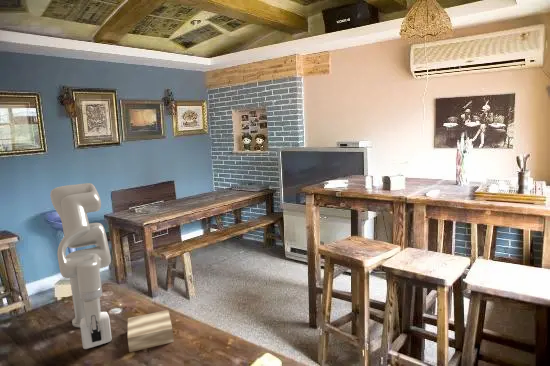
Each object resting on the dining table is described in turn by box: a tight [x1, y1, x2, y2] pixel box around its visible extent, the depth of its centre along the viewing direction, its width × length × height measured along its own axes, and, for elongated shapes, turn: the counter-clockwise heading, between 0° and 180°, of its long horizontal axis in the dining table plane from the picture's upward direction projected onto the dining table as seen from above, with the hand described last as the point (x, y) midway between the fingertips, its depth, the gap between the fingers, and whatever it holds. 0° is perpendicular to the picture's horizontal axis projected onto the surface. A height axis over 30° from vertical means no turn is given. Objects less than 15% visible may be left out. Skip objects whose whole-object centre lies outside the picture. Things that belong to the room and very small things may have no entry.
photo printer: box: [79, 311, 112, 350], centre depth 146 cm, size 10×4×12 cm, turn 123°
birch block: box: [127, 309, 175, 353], centre depth 151 cm, size 16×16×6 cm
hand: (96, 336), depth 147 cm, fingers closed on photo printer, 4 cm apart
